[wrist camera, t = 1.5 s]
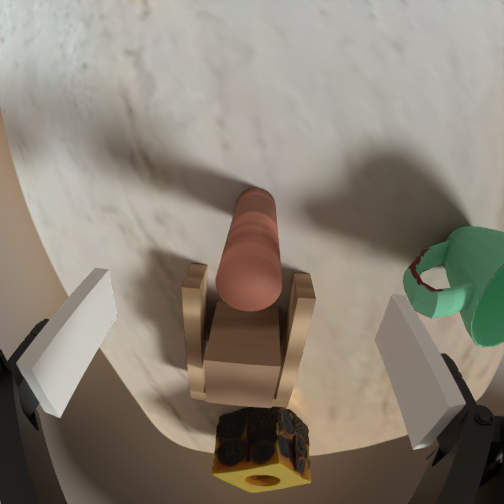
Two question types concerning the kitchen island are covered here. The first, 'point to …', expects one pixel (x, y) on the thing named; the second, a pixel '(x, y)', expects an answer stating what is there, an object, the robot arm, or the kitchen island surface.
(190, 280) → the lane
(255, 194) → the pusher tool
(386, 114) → the kitchen island surface
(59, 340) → the robot arm
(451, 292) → the mug
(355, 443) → the kitchen island surface
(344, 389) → the kitchen island surface
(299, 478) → the toy block
